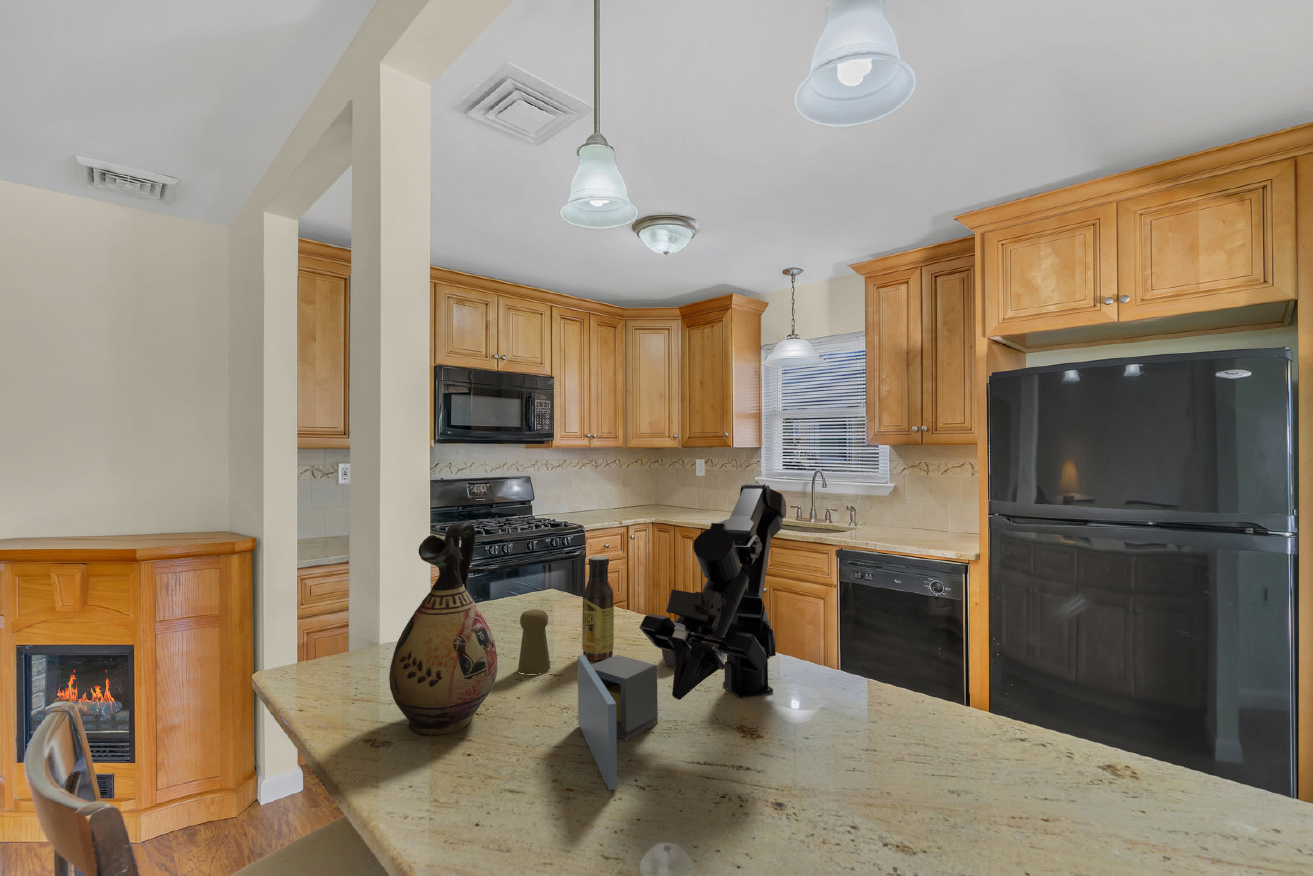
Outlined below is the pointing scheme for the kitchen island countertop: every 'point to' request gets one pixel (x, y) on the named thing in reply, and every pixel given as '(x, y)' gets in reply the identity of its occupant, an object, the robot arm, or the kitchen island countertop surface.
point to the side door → (598, 720)
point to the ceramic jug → (444, 644)
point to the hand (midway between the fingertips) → (675, 697)
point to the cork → (534, 643)
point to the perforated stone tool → (669, 655)
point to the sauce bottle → (598, 612)
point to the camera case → (630, 693)
